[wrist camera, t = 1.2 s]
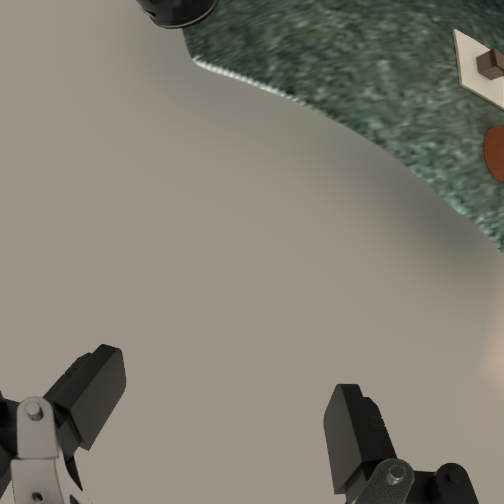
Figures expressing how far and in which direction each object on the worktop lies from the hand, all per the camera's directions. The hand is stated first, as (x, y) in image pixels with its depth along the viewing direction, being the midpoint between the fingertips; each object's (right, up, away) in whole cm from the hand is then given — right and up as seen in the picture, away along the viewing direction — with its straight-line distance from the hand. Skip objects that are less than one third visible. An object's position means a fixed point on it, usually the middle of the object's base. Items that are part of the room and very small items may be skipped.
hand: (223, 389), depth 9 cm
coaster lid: (+36, +32, +15) cm, 50 cm away
